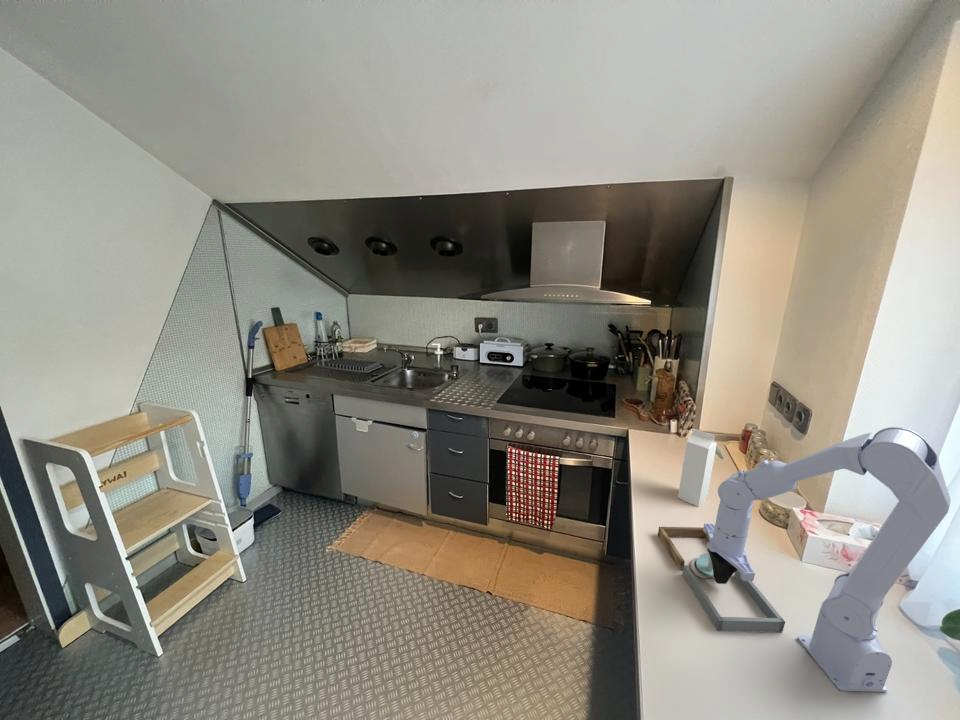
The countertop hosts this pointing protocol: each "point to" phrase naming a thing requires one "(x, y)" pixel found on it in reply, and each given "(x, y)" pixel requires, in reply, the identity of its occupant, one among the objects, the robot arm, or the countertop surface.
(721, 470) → the countertop surface
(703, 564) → the pacifier
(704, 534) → the walnut bin
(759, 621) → the grey bin
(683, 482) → the milk
